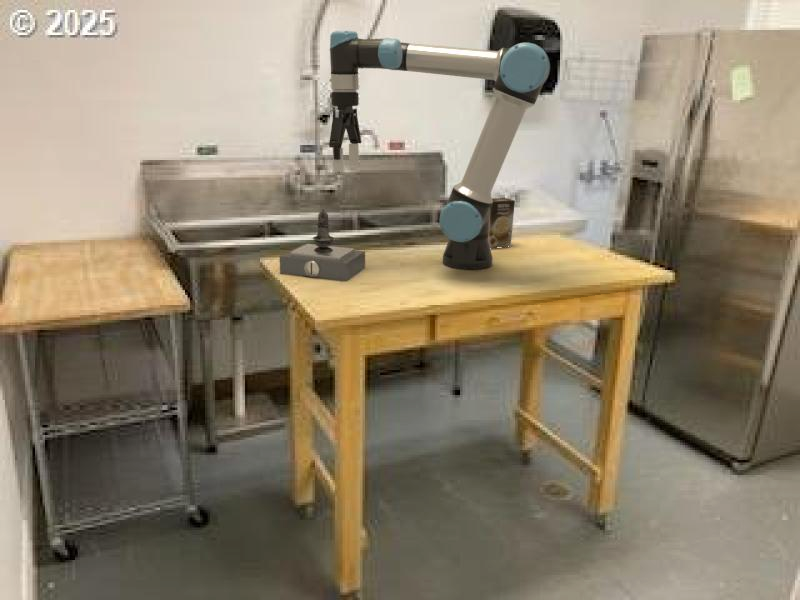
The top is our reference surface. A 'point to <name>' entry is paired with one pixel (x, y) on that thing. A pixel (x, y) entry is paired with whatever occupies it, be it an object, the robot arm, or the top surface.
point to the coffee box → (501, 222)
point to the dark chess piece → (323, 234)
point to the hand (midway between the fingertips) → (346, 169)
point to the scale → (323, 262)
